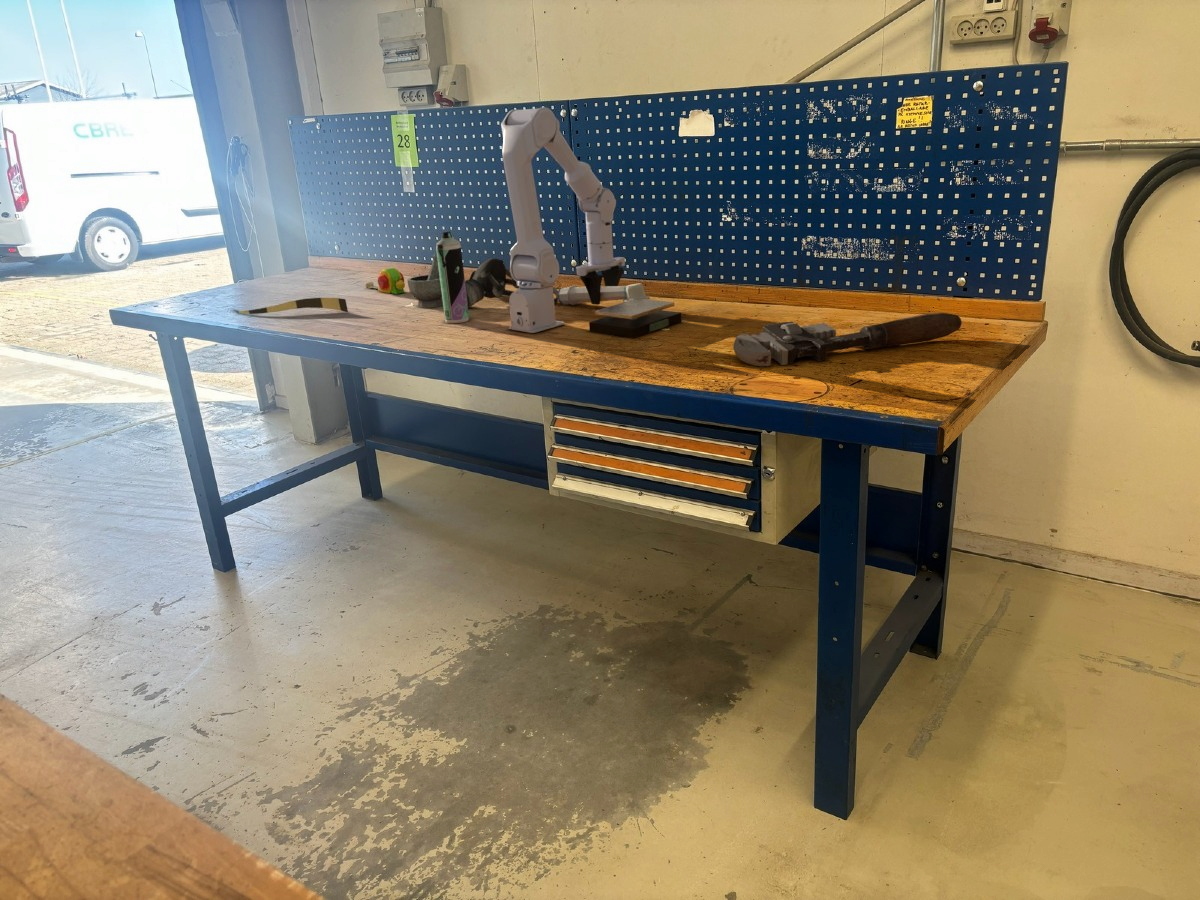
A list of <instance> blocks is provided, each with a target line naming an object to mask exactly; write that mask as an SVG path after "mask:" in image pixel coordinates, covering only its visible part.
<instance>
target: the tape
mask: <svg viewBox="0 0 1200 900" xmlns="http://www.w3.org/2000/svg"><path fill="white" fill-rule="evenodd" d="M296 309H297V310H298V309H326V310H327V309H328V310H336V311H340V312H345V313H349V309H348V305H347V300H346V298H338V297H310V298H301V299H297V300H291V301H287V302H283V303H279V304H275V305H272V306H265V307H261V308H255V309H248V310H235V309H231V310H232V311H233V312H236V313H237V314H243V315H244V314H245V315H257V314H258V315H259V314H269V313H277V312H278V313H279V312H284V311H290V310H296Z"/></svg>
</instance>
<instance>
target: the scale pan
mask: <svg viewBox="0 0 1200 900" xmlns="http://www.w3.org/2000/svg"><path fill="white" fill-rule="evenodd" d="M672 307H675V302H673V301H666V300H658V299H641V298H637V299H634V300H630V301H627V302H623V301H622V302H621V303H616V304H614V305H610V306H607V307H603V308H600V309H596V310H594V315H596V316H602V317H603V316H604V317H608V316H611V317H618V318H625V319H635V318H638V317H641V316H644V315H648V314H651V313H654V312H657V311H660V310H666V309H669V308H672Z"/></svg>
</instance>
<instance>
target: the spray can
mask: <svg viewBox="0 0 1200 900" xmlns="http://www.w3.org/2000/svg"><path fill="white" fill-rule="evenodd" d="M435 245H436V247H435V251H436V254H437V259H438V267H439V275H440V283H441V291H442V301H443V305H442V308H443V313H444V321H445V323H447V324H462V323H466V322H469V321H470V313H469V308H468V303H467V295H466V286H465V281H466V279H465V270H464V269H465V268H464V261H463V252H462V245H461V241H459V240H457V239H455V237H454V236H453V235H452V233H451V231H445V232H442V236H441V238H440V240H439V241H438V242H437V243H436V244H435Z"/></svg>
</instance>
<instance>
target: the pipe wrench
mask: <svg viewBox="0 0 1200 900" xmlns="http://www.w3.org/2000/svg"><path fill="white" fill-rule="evenodd" d="M962 321H963V320H962V318H961V317H960V316H959V315H958V314H953V313H948V312H933V313H931V312H930V313H923V314H919V315H914V316H908V317H904V318H899V319H894V320H891V321H886V322H882V323H878V324H877V323H876V324H872V325H865V326H862V327H861V328H860V330H859V332H852V333H847V334H841V335H837V330H836V329H835V328H833V327H832V326H831V325H829V324H827V323H825V322H821V323H815V324H808V325H802V326H801V325H799V324H798V323H797V322H794V321H784V322H775V323H771V324H766V325H764V326H762V332H758V333H751V334H748V333H747V332H745V333H741V334H739V335H737V336H736V337H735V339H734V342H733V346H732V347H733V351H734V353H735V355H736V357H737V358H738V359H739V360H740V361H742V362H743V363H746V364H748V365H751V366H755V367H769V366H772V365H771V363H772V359H773V360H774V361H776V362H777V363H779V364H780V365H781V366H786V365H791V364H792V363H794V361H795V359H799V358H803V357H809V358H812V359H813V360H815V361H817V362H822V361H823V362H824V361H826V360H827V353H831V352H835V351H836V352H837V351H842V350H848V349H853V348H859V347H862V348H863V349H864V350H872V349H877V348H878V349H879V348H883V347H892V346H893V347H894V346H901V345H909V344H917V343H922V342H930V341H934V340H937V339H941V338H944V337H948V336H949V335H951V334H954V333H955V332H956V331H959V330H960V329H961V327H962V325H963V323H962Z"/></svg>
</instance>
